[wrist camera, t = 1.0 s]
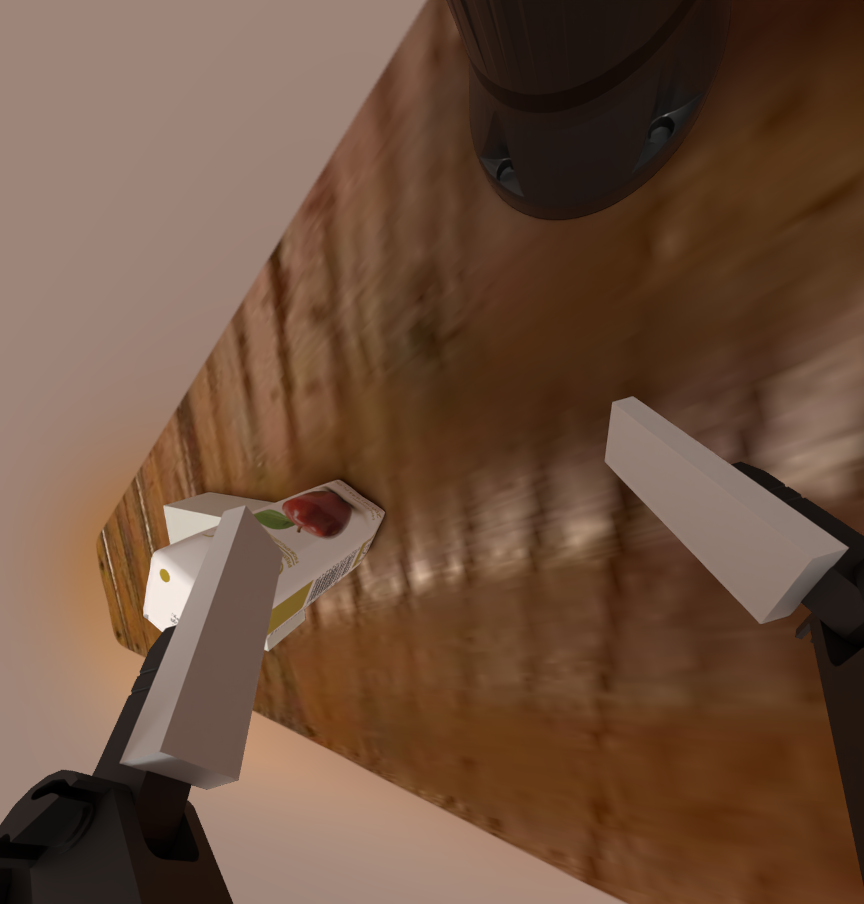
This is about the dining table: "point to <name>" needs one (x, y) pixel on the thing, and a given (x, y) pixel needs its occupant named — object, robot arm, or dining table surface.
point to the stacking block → (207, 514)
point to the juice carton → (297, 535)
